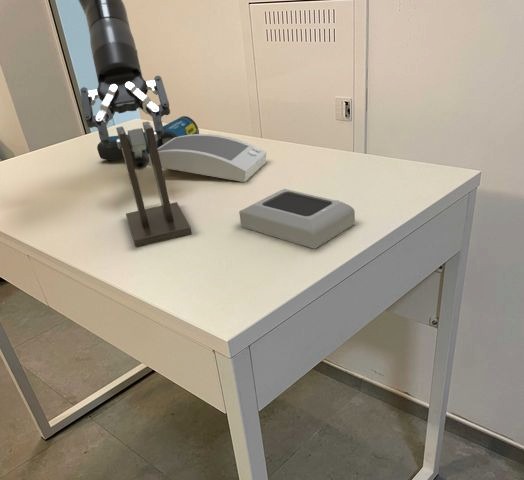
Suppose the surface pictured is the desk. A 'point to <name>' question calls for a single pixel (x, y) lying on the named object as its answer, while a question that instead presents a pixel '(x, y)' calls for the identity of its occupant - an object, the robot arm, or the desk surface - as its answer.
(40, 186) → the desk surface
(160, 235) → the latch bracket
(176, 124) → the infrared thermometer
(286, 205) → the grey flat block
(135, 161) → the latch lever
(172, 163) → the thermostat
